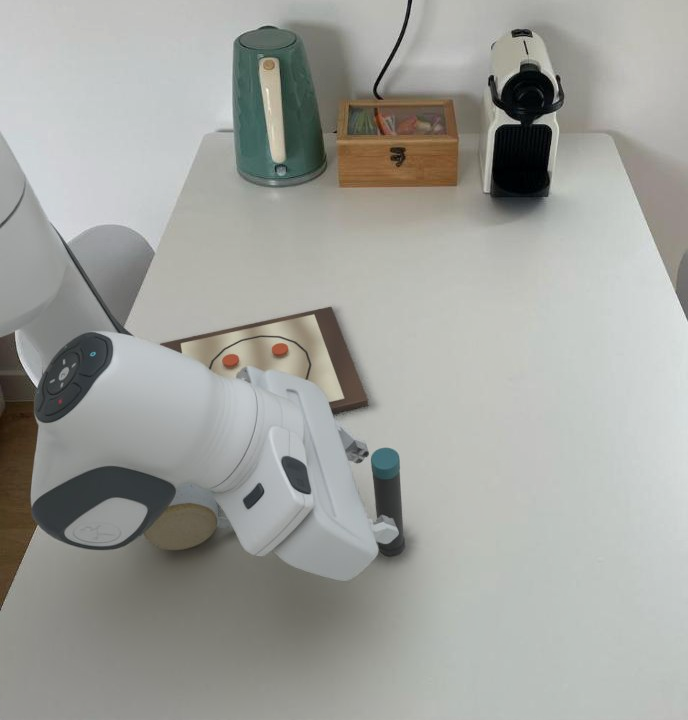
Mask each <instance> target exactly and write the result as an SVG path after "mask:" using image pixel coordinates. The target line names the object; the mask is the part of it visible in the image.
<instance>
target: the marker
mask: <svg viewBox="0 0 688 720" xmlns="http://www.w3.org/2000/svg"><path fill="white" fill-rule="evenodd" d="M370 466H371V467H370V468H371V472H372V480H373V490H374V491H373V492H374V503H375V504H374V505H375V513H376V519H377V518H378V517H380V516H381V515H385V516H387V517H388V518H393V519H394V522H395V524H396V527H397V529H398V531H399V535H398V536H397V537H396V538H395V539H394V540H392V541H391V542H390V543H388V544H383V543H380V542H377V545H378V550H379V551H380V553H382V554H383V555H385V556H388V557H394V556H398V555H399V554H401V553H402V552H403V551H404V549H405V546H406V539H405V536H404V522H403V520H404V519H403V505H402V504H403V503H402V487H401V471H400V470H401V461H400V454H399V453H398V451H397V450H395V449H394V448H391V447H381V448H378V449H376V450H375V451H374V452H373V453H372V454H371V456H370Z"/></svg>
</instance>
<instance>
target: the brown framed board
mask: <svg viewBox="0 0 688 720" xmlns="http://www.w3.org/2000/svg"><path fill="white" fill-rule="evenodd" d="M278 343H284V344H286V345H287V346H288V352H287V353H286V354H284V355H281V356H277V355H274V354H273V353H272V347H273V346H274V345H275V344H278ZM159 345H162V346H164V347H167V348H170V349H172V350H175V351H177V352H179V353H182V354H184V355H187V356H189V357H191V358H194V359H196V360H198V361H200V362H201V363H203V364H204V365H205V366H206V367H207V368H209V369H210V370H211V371H212V372H214V373H216V374H217V375H220V376H223V377H232V378H236V375H237V373H238V372H239V371H240V370H241V369H242V368H244V367H248V366H253V367H255V368H258V369H260V370H262V371H264V372H266V371H267V370H278V371H282V372H285V373H289V374H292V375H295V376H298V377H300V378H303V379H306V380H308V381H311V382H313V383H315V384H316V385H317V386H318V387H320V388H321V389H322V390H323V391H324V392H325V394H326V396H327V399H328V402H329V405H330V408H331V411H332V414H333V415H336V414H340V413H343V412H348V411H352V410H355V409H360V408H364V407H369V399H368V397H367V394H366V391H365V389H364V387H363V384H362V381H361V378H360V376H359V373H358V371H357V369H356V366H355V363H354V360H353V358H352V355H351V353H350V350H349V348H348V346H347V342H346V339H345V338H344V335H343V333H342V330H341V327H340V325H339V321H338V320H337V318H336V314H335V312H334V310H333V307H332V306H326V307H323V308H318V309H314V310H309V311H305V312H300V313H295V314H290V315H285V316H280V317H277V318H271V319H267V320H261V321H259V322H254V323H253V322H252V323H247V324H245V325H239V326H235V327H230V328H226V329H221V330H216V331H211V332H207V333H202V334H198V335H193V336H189V337H184V338H179V339H174V340H171V341H165V342H160V343H159ZM229 354H235V355H237V356H238V357H239V362H238V364H237V365H235V366H232V367H226V366H224V365H223V363H222V359H223V358H224V357H225V356H226V355H229Z"/></svg>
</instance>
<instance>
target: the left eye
mask: <svg viewBox="0 0 688 720" xmlns="http://www.w3.org/2000/svg"><path fill="white" fill-rule="evenodd" d="M238 362H239V357H238V356H237V355H235V354H229V355H226V356H225V357H224V358H223V359H222V363H223V365H224V366H226V367H232V366H235V365H237V364H238Z"/></svg>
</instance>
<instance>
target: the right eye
mask: <svg viewBox="0 0 688 720" xmlns="http://www.w3.org/2000/svg"><path fill="white" fill-rule="evenodd" d="M287 352H288V346H287V345H286V344H284V343H278V344H275V345H274V346H273V347H272V353H273V354H274V355H277V356H281V355H284V354H286V353H287Z"/></svg>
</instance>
